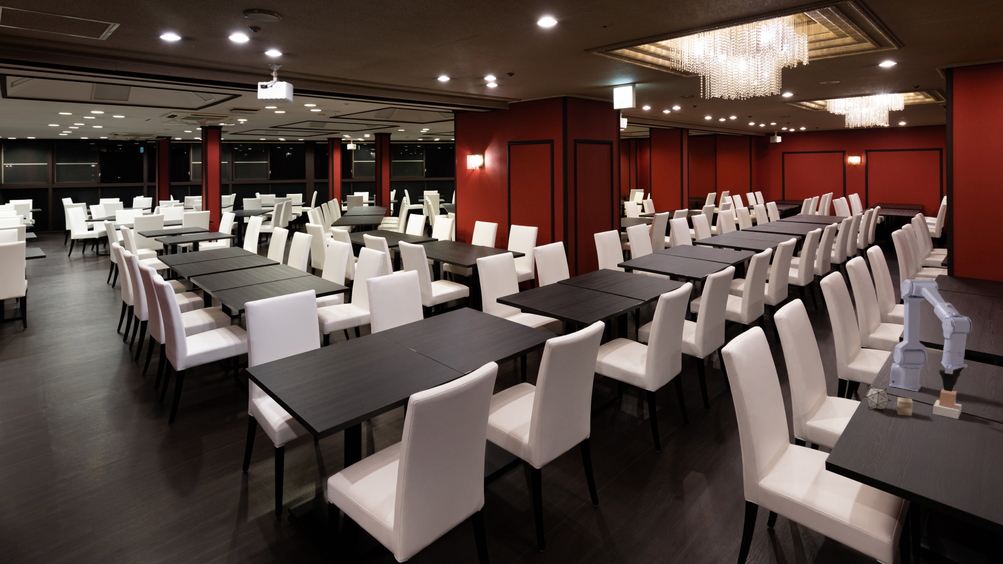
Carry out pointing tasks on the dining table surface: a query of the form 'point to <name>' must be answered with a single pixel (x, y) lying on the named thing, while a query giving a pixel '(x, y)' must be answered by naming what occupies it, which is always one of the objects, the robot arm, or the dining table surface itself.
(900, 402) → the maple block
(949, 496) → the dining table surface
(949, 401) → the terracotta block
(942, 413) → the slab
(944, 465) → the dining table surface
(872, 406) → the game die
